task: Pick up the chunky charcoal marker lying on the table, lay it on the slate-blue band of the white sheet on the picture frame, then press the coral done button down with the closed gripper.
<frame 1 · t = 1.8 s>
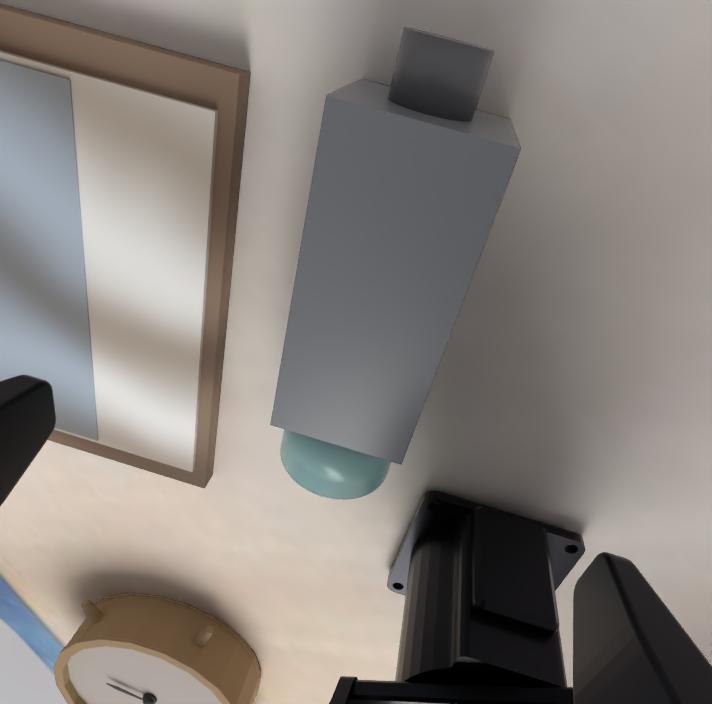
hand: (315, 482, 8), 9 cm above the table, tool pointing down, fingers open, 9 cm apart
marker: (392, 254, 16), on the table
alarm clock: (182, 658, 33), on the table
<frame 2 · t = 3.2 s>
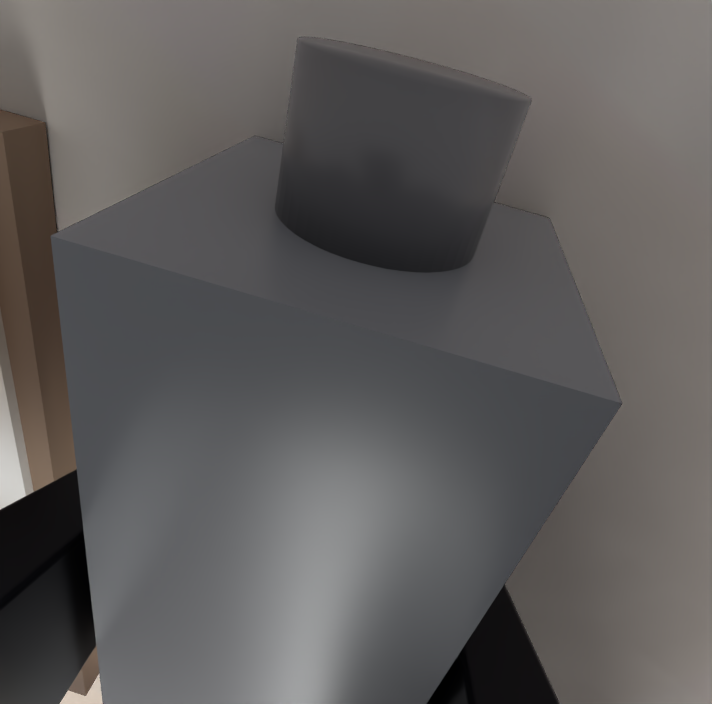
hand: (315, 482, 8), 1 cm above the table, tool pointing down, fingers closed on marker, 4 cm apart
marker: (334, 427, 9), on the table, touching gripper
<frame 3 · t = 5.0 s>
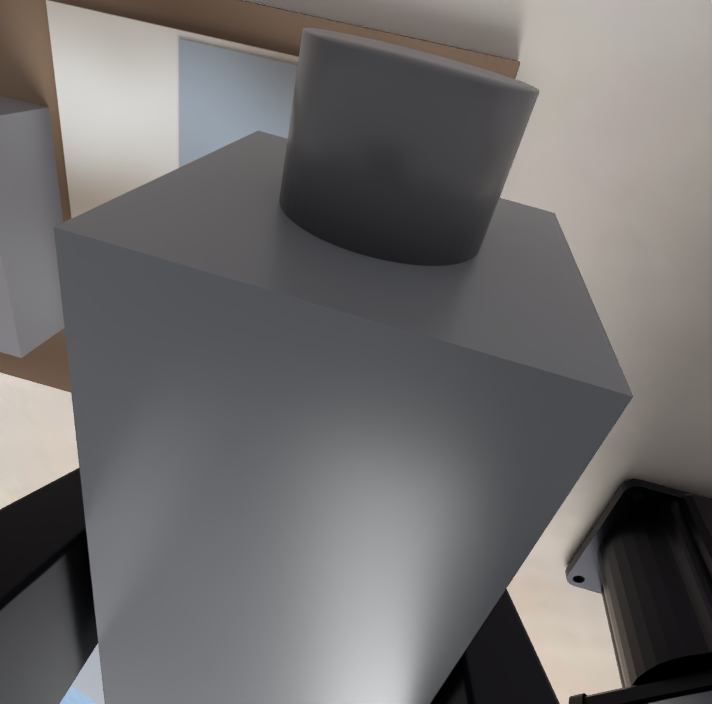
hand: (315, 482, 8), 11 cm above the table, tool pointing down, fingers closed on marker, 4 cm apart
picture frame: (152, 238, 20), on the table
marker: (336, 425, 9), point 10 cm above the table, touching gripper
when the fingers open (3 cm above the table, at t = 7.1 s): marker stays where it is, resting on picture frame.
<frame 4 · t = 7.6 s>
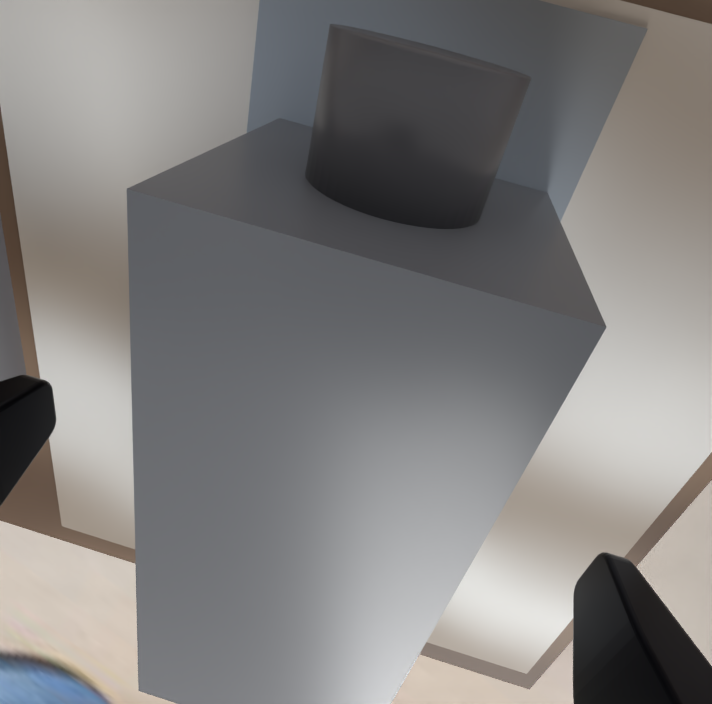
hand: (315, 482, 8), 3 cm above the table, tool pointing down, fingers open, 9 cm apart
picture frame: (172, 317, 11), on the table
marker: (347, 394, 10), point 1 cm above the table, touching picture frame
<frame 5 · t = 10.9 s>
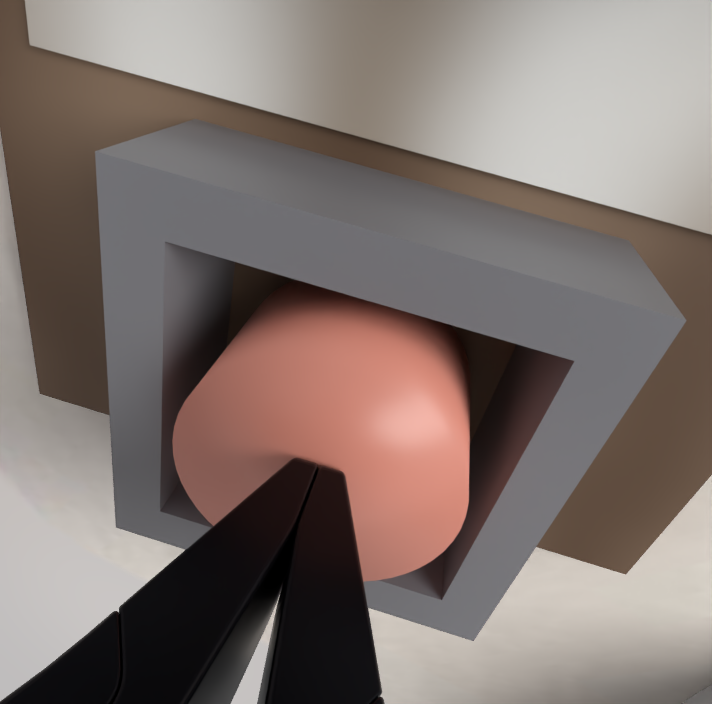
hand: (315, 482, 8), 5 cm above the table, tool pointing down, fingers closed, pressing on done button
done button: (335, 425, 10), point 3 cm above the table, slide at 1.0 cm, touching gripper
button housing: (365, 340, 12), resting on picture frame
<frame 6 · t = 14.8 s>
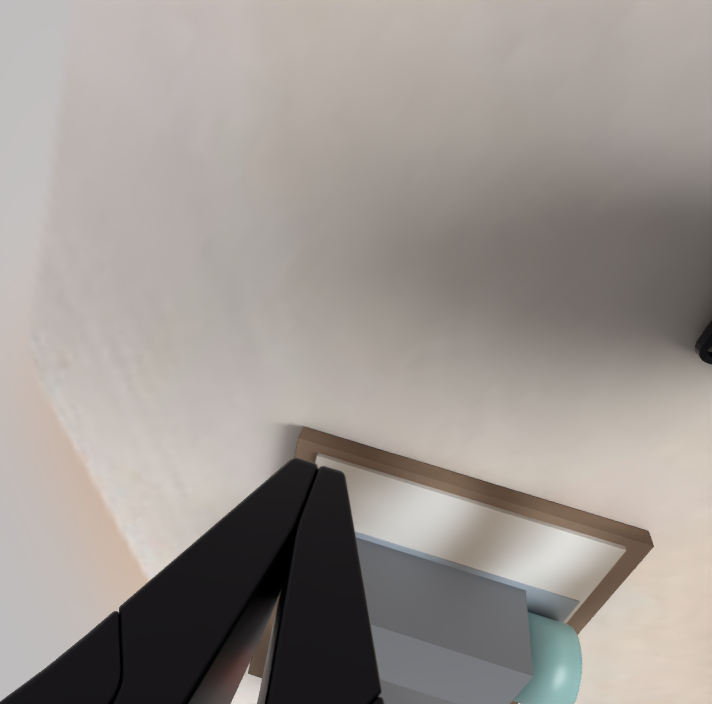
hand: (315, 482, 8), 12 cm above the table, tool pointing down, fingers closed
picture frame: (407, 610, 30), on the table
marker: (423, 585, 26), point 1 cm above the table, touching picture frame
button housing: (378, 669, 33), resting on picture frame
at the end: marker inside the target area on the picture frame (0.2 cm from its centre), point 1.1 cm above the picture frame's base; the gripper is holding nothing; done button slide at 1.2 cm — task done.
